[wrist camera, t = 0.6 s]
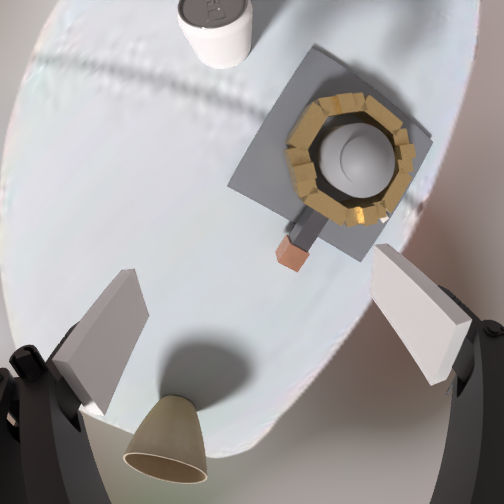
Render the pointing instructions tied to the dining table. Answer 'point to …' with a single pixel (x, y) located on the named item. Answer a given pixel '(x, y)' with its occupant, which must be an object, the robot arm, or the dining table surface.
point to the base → (326, 153)
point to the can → (217, 30)
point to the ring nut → (304, 175)
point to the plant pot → (169, 443)
